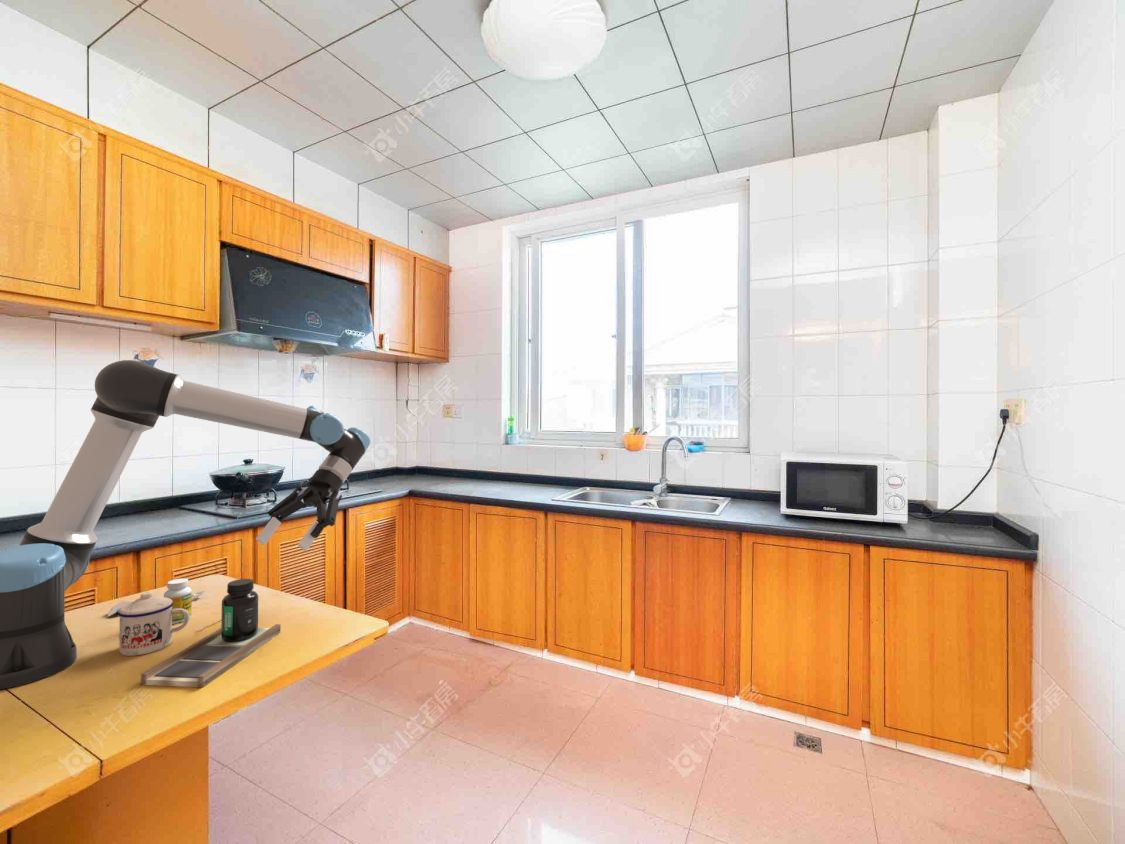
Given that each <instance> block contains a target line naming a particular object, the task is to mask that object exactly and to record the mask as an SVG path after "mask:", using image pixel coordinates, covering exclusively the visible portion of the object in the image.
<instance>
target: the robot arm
mask: <svg viewBox="0 0 1125 844" xmlns="http://www.w3.org/2000/svg"><path fill="white" fill-rule="evenodd" d="M94 390H95V394H96V396H97V397H96V398H95V400H94V403H93V404H92V405H91V408H90V412H91V413H92V415H93V417H94V421H93V423H92V425H91V427H90V429H89V431H88V432H87V435H86V437H85V438H84V441H83V443H82V444H81V447H80V448H79V450H78V452H77V454H76V455H75V458H74V459H73V461H72V463H71V466H70V468H69V470H68V472H67V473H66V474H65V477H64V479H63V481H62V483H61V485H60V486H59V489H58V490H57V492H56V494H55V496H54V498H53V500H52V502H51V503H50V506H49V508H48V510H47V511H46V513H45V515H44V517H43V519H42V521H41V522H38V523H37V524H34V525H32V526H30V527H28V528H27V530H26V532H25V534H24V535H23V537H22V538H21V541H20V543H19V545H15V546H10V547H7V548H5V549H0V690H3V689H10V688H13V687H19V686H22V685H25V684H29V683H32V682H33V683H34V682H35V681H39V680H42V679H44V678H47V677H50V676H53V675H55V674H56V673H57V674H58V673H59V672H61V671H63V670H65V669H66V668H68V667H70V666H71V665H72V664H73V663H75V662H76V660H77V657H78V655H77V653H78V652H77V651H78V650H77V649H78V648H77V645H76V643H75V642H74V639H73V637H72V634H71V633H70V631H69V628H68V627H67V626H68V625H66V621H65V620H66V619H65V612H66V611H65V609H66V608H65V602H66V601H65V599H66V598H65V596H66V595H65V593H66V591H67V590H68V589H69V588H70V587H72V586H73V584H75V583H76V582H77V581H79V579H81V577H82V576H83V575H84V574H85V572H86V571H87V570H88V567H89V565H90V560H91V555H92V553H93V550H94V548H95V545H96V544H97V542H98V539H99V538H98V536H97V535H96V534H95V532H94V530H95V527H96V525H97V523H98V521H99V520H100V518H101V516H102V513H103V511H104V510H105V507H106V505H107V503H108V501H109V499H110V497H111V496H112V494H113V493H114V490H115V487H116V485H117V484H118V481H119V479H120V478H121V475H122V474H123V472H124V469H125V468H126V465H127V463H128V462H129V460H130V458H131V457H132V454H133V452H134V449H135V448H136V445H137V443H138V441H139V440H140V438H141V435H142V433H144V432H146V431H149V430H152V429H154V428H155V425H156V423H157V422H158V419H159V418H160V417H165V418H167V417H170V416H172V415H178V416H184V417H188V418H192V419H193V418H194V419H198V420H203V421H209V422H212V423H219V424H223V425H229V426H234V427H238V428H242V429H243V428H244V429H248V430H254V431H258V432H263V433H269V434H272V435H273V434H274V435H279V436H283V437H288V438H294V439H300V440H302V441H308V442H313V443H315V444H318V445H319V446H320V447H322V448H323V449H324V450H326V451H327V452H328V453H329V454H328V455H327V456H326V458H325V459H324V460H323V461H322V462H321V464H320V465H319V467H318V469H317V470H316V471H315V472H314V473H313V474H312V476H311V478H309V486H308V487H306V488H305V489H304V488H302V487H301V486H296V488H295V489H294V491H292V492H291V493H290V494H288V495H287V496H286V497H285V498H284V499H282V500H281V501H280V502H278V503H277V504H276V505H274V506H273V507H272V508H271V509H270V510H268V511H267V515H268V516H269V517H270V518H269V520H268V521H267V522H266V524H264V526H263V528H262V530H261V531H260V533H259V534H258V535H257V536H256V538H255V540H256V541H258V543H260V544H261V545H262V546H266V544H267V543H268V542H269V541H270V539H271V538H272V536H273V535H274V534H275V532H276V531H277V530H278V528H279V527H280V526H281V525H282V522H281V521H283V520H284V519H286V518H288V517H289V516H291V515H293V514H294V513H296V512H298V511H299V510H301V509H305V508H307V507H310V508H311V507H313V508H316V518H317V519H315V520H316V521H313V522H312V524H311V525H310V527H308V529H307V531H306V532H305V534H304V535H303V537H302V538H301V539H300V541H299V542H298V543H297V546H298V547H300V549H302V550H303V551H304V552H308V550H309V548H310V547H311V546H312V544H313V543H314V541H315V540H316V539H317V538H318V537H319V536H320V535H321V534H322V531H323V530H324V529H325V528H327V527H328V526H330V527H333V526H334V525H335V524H336V520H337V515H338V509H339V504H340V501H341V499H342V498H343V495H342V494H341V493H340V491H339V490H340V489H341V488H342V487H343V483H345V481H346V480H347V479H348V477H349V476H350V474H351V473H352V471H353V469H355V467H356V465H358V463H359V461H360V460H361V459H362V457H363V456H364V455H365V453H366V451H367V450H368V448H369V446H370V445H371V438H370V435H368V433H366V432H365V431H364V430H363V429H360V428H359V427H349V428H348V429H347V428H345V427H344V425H343V421H342V420H341V419H340V418H339V416H336V415H335V414H332V413H327V412H326V413H325V412H324V411H322V410H321V409H319V408H317V407H316V406H315V405H310V406H307V408H304V407H300V406H299V407H298V406H295V405H292V404H291V405H289V404H286V403H281V402H277V401H273V400H269V399H264V398H260V397H257V396H256V397H255V396H251V395H247V394H243V393H239V392H234V391H231V390H226V389H221V388H217V387H214V386H208V385H204V384H200V383H196V382H191V381H186V380H185V379H183V377H182V376H181V375H180V374H176V373H173V372H169V371H166V370H162V369H159V368H157V367H155V366H153V365H150V364H148V363H145V362H143V361H139V360H132V359H128V360H127V359H123V360H118V361H115V362H112V363H110V364H107V365H105V367H103V368H102V369H101V370H100V371H99V372H98V374H97V375H96V377H95V380H94ZM327 501H328V502H327ZM327 503H328V504H327Z"/></svg>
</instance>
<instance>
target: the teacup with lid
mask: <svg viewBox="0 0 1125 844" xmlns="http://www.w3.org/2000/svg"><path fill="white" fill-rule="evenodd" d="M130 602H131V603H129V604H126V605H124V606H123V607H121V608H120V610H119V612H117V615H118V616H119V653H120V654H121V655H123V656H127V657H128V656H129V657H130V656H143V655H146V654H150V653H153V652H154V653H155V652H158V651H159V650H162V649H164V648H166V647H167V646H169V644H171V643H172V640H173V633H177V632H180V631H181V630H183V629H184V628H186V626H187V624H188V622H189V620H190V619H189V613H188V611H187V610H185V609H182V608H177V609H172V605H173V601H172V600H171V599H170V598H166V597H164V596H158V595H153V592H152V591H146V592H141V593H140V597H139V598H136V599H134V600H133V601H130ZM172 613H182V614H184V615H185V621H184V622H182V624H181V625H180V626H177V627H173V624H172Z"/></svg>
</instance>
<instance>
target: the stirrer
mask: <svg viewBox="0 0 1125 844" xmlns="http://www.w3.org/2000/svg"><path fill="white" fill-rule="evenodd" d="M205 593H206V592H205V590H201V591H198V592H195V593H192V600H195V599H197V598H199V597H201V596H202V595H204V594H205ZM131 602H132V601H121V602H119V603H117V604H115V605H114V606H112V608H111V609H110V610H109V611H108V613H107V615H108V616H110V617H111V616H113V615H114V614H116V613H117V614H118V612H119V610H120V608H121V607H123V606H124V605H126V604H129V603H131Z"/></svg>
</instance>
